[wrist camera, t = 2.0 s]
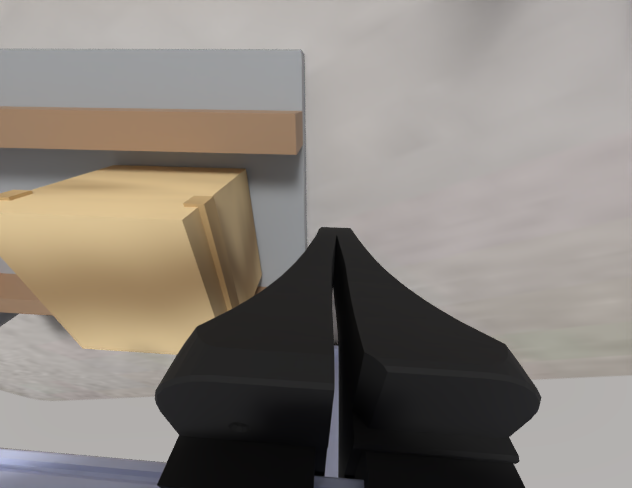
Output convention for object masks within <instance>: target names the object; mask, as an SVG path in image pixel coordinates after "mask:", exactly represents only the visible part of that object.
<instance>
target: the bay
mask: <svg viewBox="0 0 632 488" xmlns="http://www.w3.org/2000/svg"><path fill="white" fill-rule="evenodd" d="M112 165H130V166H166V167H203V168H240V169H246V172H247V179H248V185H249V192H250V199H251V205H252V212H253V219H254V225H255V232H256V239H257V245H258V252H259V259H260V265H261V272H262V276H261V279H260V281H259V284H258V286H257V289H256V291H255V294H254V296H255V295H256V294H258V293H259V292H261V291H262V290H264V289H265V288H266V287H268V286H269V285H270V284H272V283H273V282H274V281H275V280H277V279H278V278H279V277H280V276H281V275H283V274H284V273H285V272H286V271H287V270H288V269H289V268H290V267H291V266H292V265H293V264H294V263H295V262H296V261H297V260H298V259H299V257H300V256H301V255H302V254H303V253H304V252H305V250H306V249H307V221H306V143H305V66H304V53H303V51H302V50H277V49H0V193H3V192H7V191H10V190H33V189H36V188H39V187H43V186H46V185H49V184H53V183H56V182H59V181H63V180H66V179H69V178H73V177H76V176H79V175H83V174H86V173H89V172H93V171H96V170H99V169H102V168H106V167H109V166H112ZM19 313H21V314H37V315H52V314H51V312H50V311H49V310H48V309H47V308H46V307H45V306H44V305H43V304H42V302H41V301H40V300H39V299H38V298H37V297H36V296H35V295H34V294H33V292H32V291H31V290H30V289H29V288H28V287H27V286H26V285H25V283H24V282H23V281H22V280H21V279H20V278H19V277H18V276H17V275H16V273H15V272H14V271H13V270H12V269H11V268H10V267H9V266H8V265H7V263H6V262H5V261H4V260H3V259H2V258H1V257H0V326H2V325H3V324H5V323H6V322H8V321H9V320H11V319H12V318H14V317H15V316H16V315H18V314H19Z"/></svg>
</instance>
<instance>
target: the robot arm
mask: <svg viewBox="0 0 632 488" xmlns="http://www.w3.org/2000/svg"><path fill="white" fill-rule="evenodd" d="M333 289H334V299H335V309H336V318H337V328H338V346H337V345H334V339H333V317H332V290H333ZM155 401H156V404H157V406H158V408H159V410H160V411H161V413H162V414H163V415H164V417H166V419H167V420H168V421H169V422H170V424H171V425H172V426H173V428H174V429H175V430H176V431H177V433H178V434H179V437H178V439H177V441H176V444H175V446H174V448H173V450H172V452H171V455H170V457H169V459H168V461H167V463H166V462H155V461H144V460H132V459H120V458H109V457H98V456H87V455H75V454H64V453H53V452H42V451H30V450H18V449H8V448H0V488H525V486H524V484H523V482H522V480H521V478H520V476H519V474H518V472H517V470H516V468H515V466H514V464H516V463H518V462H519V456H518V454H517V452H516V450H515V448H514V446H513V444H512V442H511V440H510V438H509V436H511V435H512V434H513V433H514V432H515V431H517V430H518V429H519V428H520V427H522V426H523V425H524V424H525V423H526V422H528V421H529V420H530V419H531V418H532V417H533V416H534V415H535V414H536V413H537V411H538V409H539V405H540V401H541V396H540V394H539V392H538V390H537V388H536V387H535V385H534V384H533V382H532V381H531V379H530V378H529V377H528V375H527V374H526V372H525V371H524V369H523V368H522V367H521V365H520V364H519V362H518V361H517V359H516V358H515V357H514V355H513V354H512V353H511V351H510V350H509V349H508V347H507V346H506V345H505V344H504V343H502V342H500V341H498V340H496V339H494V338H492V337H490V336H488V335H486V334H484V333H482V332H480V331H478V330H476V329H474V328H472V327H470V326H468V325H466V324H464V323H462V322H460V321H459V320H457V319H455V318H453V317H452V316H450V315H448V314H447V313H445V312H443V311H441V310H440V309H438V308H436V307H435V306H433V305H432V304H430V303H428V302H427V301H425V300H424V299H422V298H421V297H419V296H418V295H417V294H415V293H414V292H412V291H411V290H409V289H408V288H407V287H405V286H404V285H403V284H401V283H400V282H399V281H398V280H397V279H395V278H394V277H393V276H392V275H391V274H389V273H388V272H387V271H386V270H385V269H384V268H383V267H382V266H381V265H380V264H379V263H378V262H377V261H376V260H375V259H374V258H373V257H372V256H371V254H370V253H369V252H368V251H367V250H366V249H365V247H364V246H363V245H362V243H361V242H360V241H359V240H358V238H357V237H356V235H355V234H354V232H353V231H352V230H351V229H350V228H330V227H321V228H320V229H319V231H318V233H317V235H316V236H315V238H314V239H313V241H312V242H311V244H310V245H309V246H308V248H307V249H306V250H305V252H304V253H303V254H302V255H301V256H300V257H299V259H298V260H297V261H296V262H295V263H294V264H293V265H292V266H291V267H290V268H289V269H288V270H287V271H286V272H285V273H284V274H283V275H281V276H280V277H279V278H278V279H277V280H275V281H274V282H273V283H272V284H270V285H269V286H268V287H266V288H265V289H264V290H262V291H261V292H259V293H258V294H256V295H255V296H253V297H251V298H250V299H248V300H246V301H245V302H243V303H241V304H240V305H238V306H236V307H234V308H233V309H231V310H229V311H227V312H225V313H223V314H221V315H219V316H217V317H215V318H213V319H211V320H209V321H207V322H205V323H203V324H201V325H199V326H197V327H196V328H195V330H194V331H193V332H192V334H191V335H190V336H189V338H188V339H187V340H186V342H185V343H184V345H183V346H182V348H181V349H180V351H179V353H178V354H177V356H176V358H175V359H174V361H173V363H172V364H171V366H170V368H169V369H168V371H167V373H166V374H165V376H164V378H163V379H162V381H161V383H160V384H159V386H158V388H157V389H156V392H155ZM513 463H514V464H513Z"/></svg>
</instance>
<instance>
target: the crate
mask: <svg viewBox="0 0 632 488" xmlns="http://www.w3.org/2000/svg"><path fill="white" fill-rule="evenodd" d="M0 257H1V258H2V259H3V260H4V261H5V262H6V263H7V265H8V266H9V267H10V268H11V269H12V270H13V271H14V272H15V273H16V275H17V276H18V277H19V278H20V279H21V280H22V281H23V282H24V283H25V285H26V286H27V287H28V288H29V289H30V290H31V291H32V292H33V294H34V295H35V296H36V297H37V298H38V299H39V300H40V301H41V302H42V304H43V305H44V306H45V307H46V308H47V309H48V310H49V311H50V312H51V314H52V315H53V316H54V317H55V318H56V319H57V320H58V321H59V323H60V324H61V325H62V326H63V327H64V328H65V329H66V330H67V331H68V333H69V334H70V335H71V336H72V337H73V338H74V339H75V340H76V341H77V343H78V344H79V345H80V346H81V347H82V348H84V349H99V350H114V351H129V352H144V353H159V354H174V355H177V354H178V353H179V351H180V349H181V348H182V346H183V345H184V343H185V342H186V340H187V339H188V338H189V336H190V335H191V334H192V332H193V331H194V330H195V328H196V327H197V326H199V325H201V324H203V323H205V322H207V321H209V320H211V319H213V318H215V317H217V316H219V315H221V314H223V313H225V312H227V311H229V310H231V309H233V308H234V307H236V306H238V305H240V304H241V303H243V302H245V301H246V300H248V299H250V298H251V297H253V296H254V294H255V291H256V289H257V286H258V284H259V281H260V279H261V276H262V272H261V265H260V259H259V252H258V245H257V239H256V232H255V225H254V219H253V212H252V205H251V199H250V192H249V185H248V179H247V172H246V169H240V168H203V167H166V166H130V165H112V166H109V167H106V168H102V169H99V170H96V171H93V172H89V173H86V174H83V175H79V176H76V177H73V178H69V179H66V180H63V181H59V182H56V183H53V184H49V185H46V186H43V187H39V188H36V189H33V190H10V191H7V192H3V193H0Z"/></svg>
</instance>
